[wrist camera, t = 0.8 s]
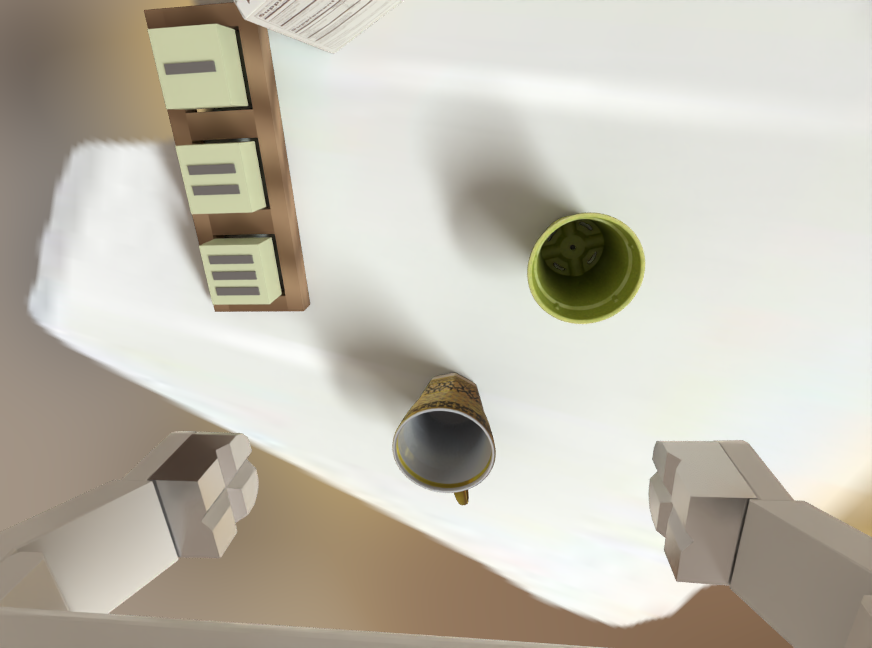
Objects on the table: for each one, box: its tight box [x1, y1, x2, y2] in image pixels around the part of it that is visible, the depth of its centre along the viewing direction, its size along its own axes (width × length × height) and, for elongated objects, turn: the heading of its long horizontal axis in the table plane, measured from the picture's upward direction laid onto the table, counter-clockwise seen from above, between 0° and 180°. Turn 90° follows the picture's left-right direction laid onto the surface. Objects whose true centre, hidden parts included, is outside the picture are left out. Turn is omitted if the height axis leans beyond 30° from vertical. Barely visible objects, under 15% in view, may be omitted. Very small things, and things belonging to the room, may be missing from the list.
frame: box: [144, 2, 310, 312], centre depth 49 cm, size 28×10×2 cm, turn 3°
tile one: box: [148, 24, 248, 109], centre depth 43 cm, size 6×6×3 cm
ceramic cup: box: [393, 373, 496, 505], centre depth 53 cm, size 13×10×10 cm
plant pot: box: [527, 213, 645, 324], centre depth 45 cm, size 9×9×9 cm
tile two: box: [175, 141, 266, 214], centre depth 46 cm, size 6×6×3 cm
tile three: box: [199, 237, 282, 305], centre depth 49 cm, size 6×6×3 cm
